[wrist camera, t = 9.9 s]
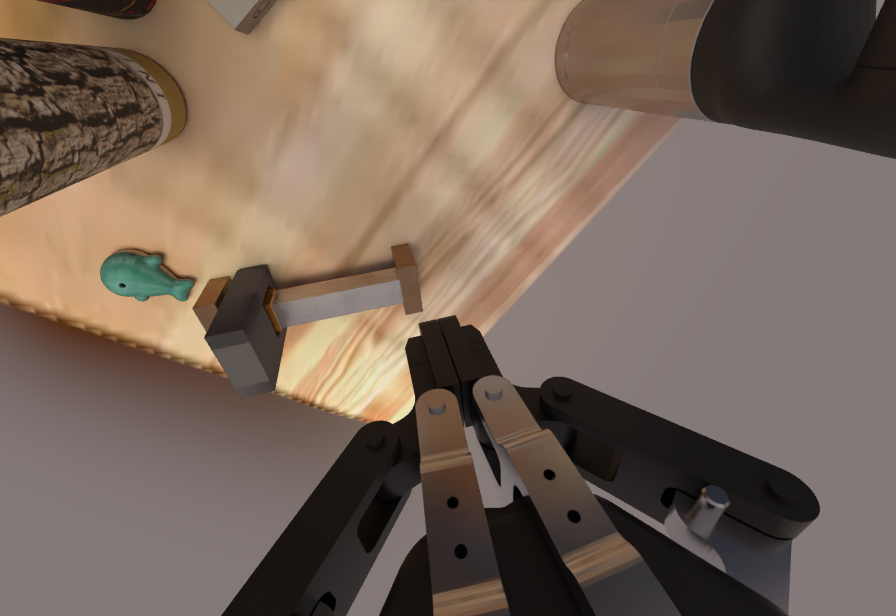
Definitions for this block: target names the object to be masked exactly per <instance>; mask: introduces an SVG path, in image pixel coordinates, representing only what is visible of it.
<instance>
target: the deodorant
mask: <svg viewBox="0 0 896 616" xmlns="http://www.w3.org/2000/svg"><path fill="white" fill-rule="evenodd" d="M38 1H43V2H47V3H52V4H57V5H61V6H66V7H70V8H75V9H79V10H84V11H88V12H93V13H97V14H102V15H106V16H111V17H115V18H120V19H136V18H140V17H143V16H144V15H146V14H147V13H148V12H150V11H151V9H152V8H153V6H154V5H155V3H156V0H38Z"/></svg>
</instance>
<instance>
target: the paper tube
mask: <svg viewBox="0 0 896 616" xmlns="http://www.w3.org/2000/svg"><path fill="white" fill-rule="evenodd" d="M185 121H186V106H185V102H184V99H183V96H182V94H181V92H180V90H179V88H178V86H177V85H176V83H175V82H174V81H173V79H172V78H171V77H170V76H169V75H168V74H167V72H166V71H164V70H163V69H162V68H161V67H160V66H159V65H158V64H156V63H155V62H153V61H152V60H150V59H148V58H147V57H145V56H143V55H141V54H138V53H136V52H133V51H130V50H126V49H119V48H108V47H99V46H89V45H77V44H66V43H54V42H42V41H30V40H19V39H7V38H0V217H1V216H3V215H5V214H8V213H10V212H12V211H14V210H17V209H19V208H21V207H23V206H26V205H28V204H30V203H32V202H35V201H37V200H39V199H41V198H44V197H46V196H48V195H50V194H53V193H55V192H57V191H59V190H62V189H64V188H66V187H68V186H71V185H73V184H75V183H77V182H80V181H82V180H84V179H86V178H89V177H91V176H93V175H95V174H98V173H100V172H102V171H104V170H107V169H109V168H111V167H113V166H116V165H118V164H120V163H122V162H125V161H127V160H129V159H131V158H134V157H136V156H138V155H140V154H143V153H145V152H147V151H150V150H152V149H154V148H156V147H158V146H160V145H162V144H164V143H167V142H169V141H171V140H173V139H174V138H175V137H177V136H178V135H179V134H180V132H181V131H182V129H183V127H184V125H185Z"/></svg>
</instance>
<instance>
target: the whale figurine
mask: <svg viewBox="0 0 896 616" xmlns="http://www.w3.org/2000/svg"><path fill="white" fill-rule="evenodd" d="M161 263H162V258H161V257H160V256H159V255H147V254H146V253H144V252H141V251H137V250H121V251H118V252H115V253H113V254H112V255H110V256H109V257H108V258H107V259H106V260H105V261H104V262H103V264H102V266H101V269H100V276H101V280H102V282H103V284H104V285H105V286H106V287H107V288H108V289H109V290H110V291H112V292H113V293H115V294H117V295H120V296H127V297H133V296H134V297H135V298H136V299H137V300H139V301H146V300H148V299H149V296H160V295H172V296H174V297H175V298H176V299H177V300H179V301H186V300H188V298H189V295H188V294H189V290H190V289H191V288H192V287H193V286H194V282H193V281H192V280H190V279H178V278H176V277H175V276H174V275H173V274H172V273H171V272H170V271H168V270H167V269H166V268H165V267H164V266H162V265H161Z"/></svg>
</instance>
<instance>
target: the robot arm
mask: <svg viewBox="0 0 896 616" xmlns="http://www.w3.org/2000/svg"><path fill="white" fill-rule="evenodd" d="M556 70H557V75H558V79H559V81H560V84H561V86H562V88H563V89H564V91H565V92H566V94H568V95H569V96H570V97H571V98H572V99H574V100H576V101H579V102H583V103H589V104H596V105H602V106H607V107H614V108H621V109H628V110H634V111H641V112H648V113H655V114H661V115H668V116H675V117H682V118H690V119H697V120H704V121H711V122H718V123H725V124H732V125H737V126H740V127H744V128H749V129H753V130H759V131H766V132H772V133H778V134H783V135H788V136H793V137H798V138H803V139H808V140H813V141H818V142H822V143H827V144H831V145H836V146H840V147H844V148H849V149H853V150H857V151H862V152H866V153H870V154H875V155H879V156H884V157H889V158H894V159H896V0H885V2H884V4H883V6H882V8H881V10H880V12H879V15H878V17H877V19H876V0H583V1H582V2H581V3H580V4H579V5H578V6H577V7H576V8H575V9H574V10H573V11H572V13H571V14H570V16H569V17H568V19H567V20H566V22H565V25H564V27H563V29H562V31H561V34H560V37H559V40H558V44H557V51H556ZM419 329H420V334H421V336H417V337H413V338H409V339H408V341H407V344H406V347H405V350H406V355H407V360H408V365H409V369H410V374H411V379H412V384H413V389H414V393H415V404H414V407H413V409H412V410H411V412H410V413H409V414H408V415H407V416H405V417H404V418H403V419H401V420H399V421H398V422H396V423H394V424H391V423H389V422H387V421H374V422H371V423H368V424H366V425H365V426H363V427H362V428H361V429H360V430H359V431H358V432H357V433H356V435H355V436H354V437H353V439H352V440H351V441H350V443H349V444H348V445H347V447H346V448H345V450H344V451H343V452H342V454H341V455H340V456H339V458H338V459H337V460H336V462H335V463H334V465H333V466H332V467H331V468H330V470H329V471H328V472H327V474H326V475H325V477H324V478H323V479H322V481H321V482H320V483H319V485H318V486H317V487H316V489H315V490H314V491H313V493H312V494H311V495H310V497H309V498H308V500H307V501H306V502H305V503H304V505H303V506H302V507H301V509H300V510H299V512H298V513H297V514H296V516H295V517H294V518H293V520H292V521H291V522H290V524H289V525H288V526H287V528H286V529H285V530H284V532H283V533H282V534H281V536H280V537H279V539H278V540H277V541H276V542H275V544H274V545H273V547H272V548H271V549H270V551H269V552H268V553H267V555H266V556H265V558H264V559H263V560H262V561H261V563H260V564H259V566H258V567H257V568H256V569H255V571H254V572H253V574H252V575H251V576H250V578H249V579H248V580H247V582H246V583H245V584H244V586H243V587H242V588H241V590H240V591H239V592H238V594H237V595H236V596H235V598H234V599H233V601H232V602H231V603H230V605H229V606H228V607H227V608H226V610H225V611H224V613H223V614H222V615H221V616H346V615H347V613H348V611H349V609H350V607H351V605H352V603H353V601H354V600H355V598H356V596H357V594H358V592H359V590H360V588H361V586H362V585H363V583H364V581H365V579H366V577H367V575H368V573H369V571H370V569H371V568H372V566H373V564H374V562H375V560H376V558H377V556H378V554H379V552H380V551H381V549H382V547H383V545H384V543H385V541H386V539H387V537H388V535H389V533H390V532H391V530H392V528H393V526H394V524H395V522H396V520H397V518H398V516H399V515H400V513H401V511H402V509H403V507H404V505H405V503H406V501H407V499H408V498H409V496H410V493H411V490H412V488H413V487H415V486H416V485H418V484H419V483H422V493H423V504H424V514H425V524H426V535H425V536H423V537H422V538H421V539H420V540H419V541H418V542H417V543H416V544H415V545H414V546H413V548H412V549H411V550H410V552H409V553H408V555H407V556H406V558H405V560H404V562H403V563H402V565H401V567H400V569H399V571H398V574H397V576H396V578H395V581H394V583H393V585H392V587H391V590H390V592H389V594H388V597H387V599H386V601H385V603H384V606H383V608H382V610H381V612H380V615H379V616H789V615H788V605H789V585H790V565H791V544H792V541H793V540H794V539H795V538H796V537H797V536H798V535H799V534H800V533H801V532H802V531H803V530H804V529H805V528H807V527H808V526H809V525H810V524H811V523H812V522H813V521H814V520H815V519H816V518H817V517H818V515H819V512H820V506H819V502H818V500H817V498H816V496H815V494H814V493H813V492H812V490H811V489H810V488H809V487H808V486H807V485H806V484H805V483H804V482H802V481H801V480H800V479H799V478H797V477H796V476H794V475H793V474H791V473H789V472H787V471H785V470H783V469H781V468H778V467H776V466H774V465H772V464H769V463H767V462H765V461H762V460H760V459H757V458H755V457H753V456H750V455H748V454H746V453H743V452H741V451H738V450H736V449H734V448H732V447H729V446H727V445H724V444H722V443H720V442H718V441H715V440H713V439H710V438H708V437H706V436H703V435H701V434H698V433H696V432H694V431H692V430H689V429H687V428H685V427H682V426H679V425H677V424H675V423H673V422H670V421H668V420H666V419H663V418H661V417H659V416H656V415H654V414H652V413H649V412H647V411H645V410H642V409H640V408H638V407H635V406H632V405H630V404H628V403H626V402H623V401H621V400H619V399H616V398H614V397H611V396H609V395H607V394H605V393H602V392H600V391H598V390H595V389H593V388H590V387H588V386H586V385H583V384H581V383H578V382H576V381H574V380H572V379H569V378H565V377H552V378H549V379H547V380H546V381H544V382H543V383H542V385H541V387H540V388H525V387H519V386H515V385H513V384H511V382H510V381H509V380H507V379H506V378H503V376H502V375H501V373H500V370H499V369H498V367H497V364H496V363H495V361H494V359H493V357H492V355H491V353H490V351H489V349H488V347H487V345H486V343H485V342H484V339H483V337H482V335H481V333H480V331H479V330H477V329H476V328H475V327H473V326H472V325H467V326H462V327H461V326H460V324H459V321H458V319H457V317H456V315H453V316H449V317H444V318H440V319H438V322H437V319H435V320H431V321H426V322H422V323H419ZM463 420H464V421H463ZM464 423H465V426H466V427H469V426H473V427H474V430H475V433H476V440H477V445H478V448H479V450H480V452H481V455H482V457H483V459H484V462H485V464H486V466H487V468H488V471H489V473H490V475H491V477H492V480H493V482H494V484H495V487H496V489H497V491H498V494H499V497H500V500H501V505H502V508H484V506H483V502H482V497H481V493H480V489H479V485H478V481H477V476H476V472H475V467H474V463H473V459H472V455H471V453H470V452H469V449H468V444H467V440H466V436H465V431H464ZM584 479H585V480H587V481H589V482H590V483H592V484H594V485H596V486H597V487H599V488H601V489H603V490H604V491H606V492H608V493H610V494H611V495H613V496H615V497H617V498H618V499H620V500H622V501H624V502H625V503H627V504H629V505H631V506H632V507H634V508H636V509H638V510H639V511H641V512H643V513H645V514H646V515H648V516H650V517H651V518H653V519H655V520H657V521H658V522H660V523H662V524H664V525H665V528H666V531H667V533H668V535H669V536H670V538H671V539H670V538H668V537H667V536H665V535H663V534H662V533H660V532H658V531H657V530H655V529H654V528H652V527H651V526H649V525H647V524H645V523H644V522H642V521H641V520H639V519H638V518H636V517H634V516H633V515H631V514H630V513H628V512H626V511H625V510H623V509H622V508H620V507H618V506H617V505H615V504H613V503H612V502H610V501H608V500H606V499H604V498H602V497H600V496H598V495H595V494H593V493H592V491H591V490H590V489H589V487H588V485H587V484H586V482H585V481H584Z"/></svg>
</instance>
